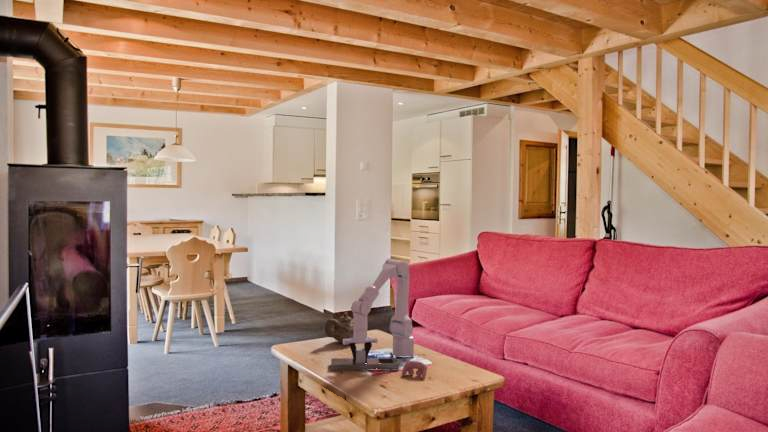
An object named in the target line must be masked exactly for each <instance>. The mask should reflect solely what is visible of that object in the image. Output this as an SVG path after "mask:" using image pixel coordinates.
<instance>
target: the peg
mask: <svg viewBox="0 0 768 432" xmlns="http://www.w3.org/2000/svg"><path fill="white" fill-rule="evenodd" d="M365 359H366V351H365V349H364V347H360V348H359V347H358V348H357V347H356V361H354V363H355V364H365Z"/></svg>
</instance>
